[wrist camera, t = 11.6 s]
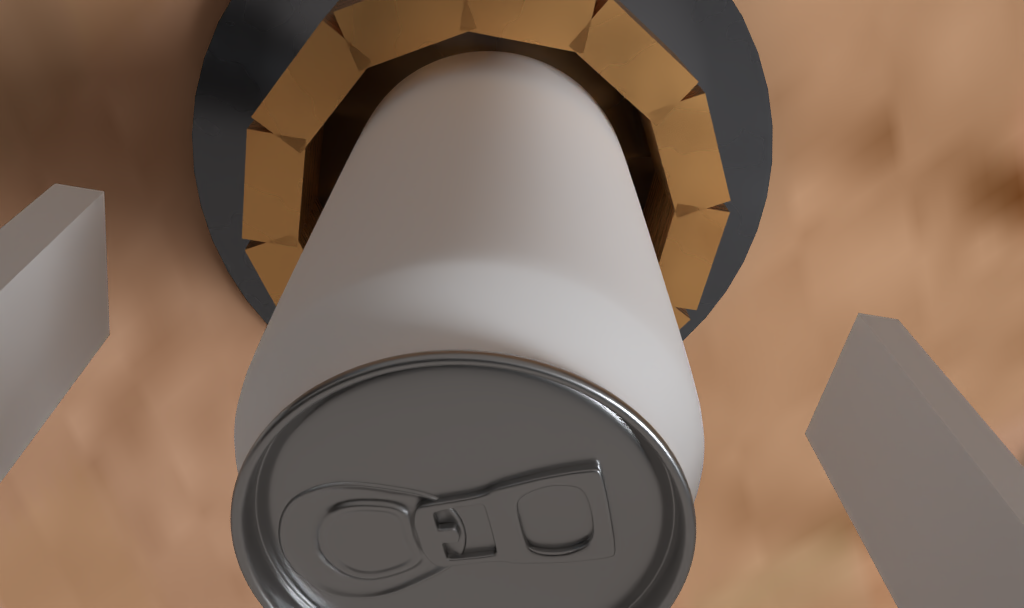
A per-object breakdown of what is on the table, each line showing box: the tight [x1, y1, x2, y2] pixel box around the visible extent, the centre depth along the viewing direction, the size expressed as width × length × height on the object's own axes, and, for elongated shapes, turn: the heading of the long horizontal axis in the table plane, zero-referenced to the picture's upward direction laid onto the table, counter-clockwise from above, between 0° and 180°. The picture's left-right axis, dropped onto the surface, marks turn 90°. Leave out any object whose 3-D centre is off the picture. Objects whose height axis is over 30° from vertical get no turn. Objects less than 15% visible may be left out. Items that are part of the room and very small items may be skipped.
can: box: [231, 51, 704, 608], centre depth 16 cm, size 6×6×12 cm
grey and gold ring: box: [192, 0, 772, 341], centre depth 20 cm, size 14×14×4 cm
